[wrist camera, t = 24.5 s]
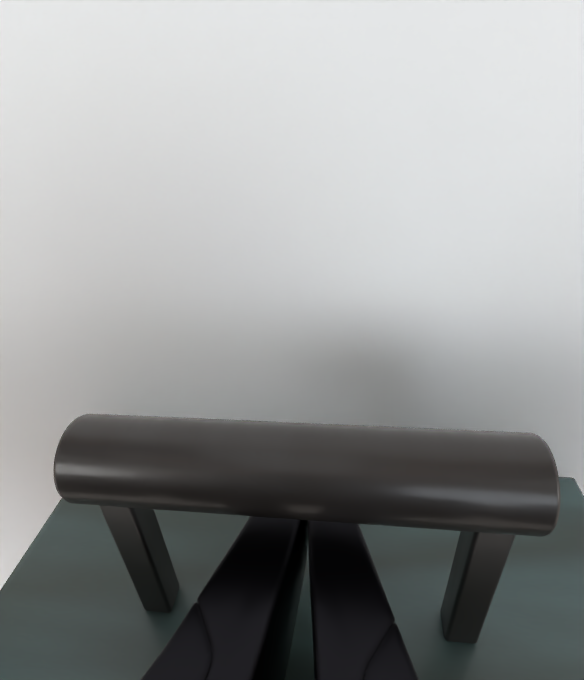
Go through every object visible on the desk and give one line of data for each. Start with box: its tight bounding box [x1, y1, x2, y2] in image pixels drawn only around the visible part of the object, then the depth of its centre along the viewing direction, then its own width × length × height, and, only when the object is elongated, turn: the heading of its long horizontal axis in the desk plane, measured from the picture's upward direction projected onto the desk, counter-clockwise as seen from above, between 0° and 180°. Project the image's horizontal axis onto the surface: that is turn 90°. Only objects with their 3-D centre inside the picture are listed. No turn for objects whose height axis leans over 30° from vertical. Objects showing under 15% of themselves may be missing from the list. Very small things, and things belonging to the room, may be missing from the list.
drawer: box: [0, 414, 584, 680], centre depth 12 cm, size 18×13×6 cm
